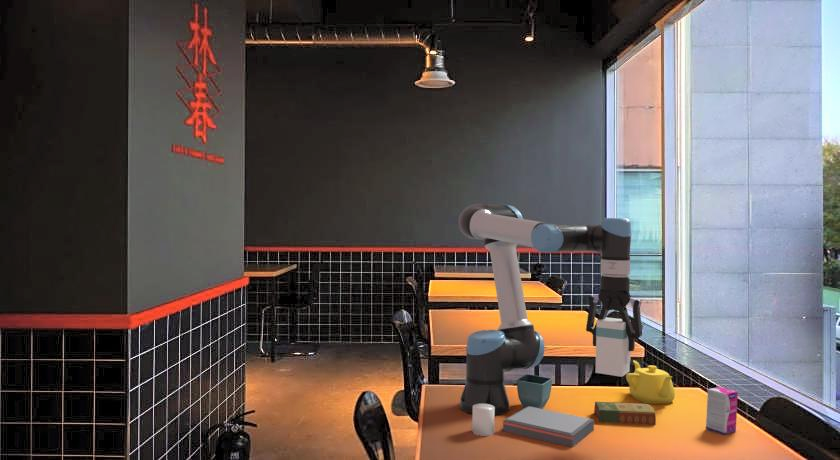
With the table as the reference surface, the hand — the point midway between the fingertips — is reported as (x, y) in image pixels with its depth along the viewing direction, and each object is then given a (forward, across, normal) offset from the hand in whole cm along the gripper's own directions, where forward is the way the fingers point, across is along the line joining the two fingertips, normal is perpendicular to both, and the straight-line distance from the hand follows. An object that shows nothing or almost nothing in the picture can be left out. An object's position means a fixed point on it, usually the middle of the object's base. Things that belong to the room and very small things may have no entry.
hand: (612, 360), depth 167 cm
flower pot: (+21, -28, +12) cm, 37 cm away
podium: (+21, -16, -5) cm, 27 cm away
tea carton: (+3, 0, 0) cm, 3 cm away
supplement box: (+21, +23, +25) cm, 40 cm away
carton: (+22, -2, +18) cm, 28 cm away
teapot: (+21, -2, +44) cm, 49 cm away
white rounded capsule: (+21, -30, -17) cm, 40 cm away
